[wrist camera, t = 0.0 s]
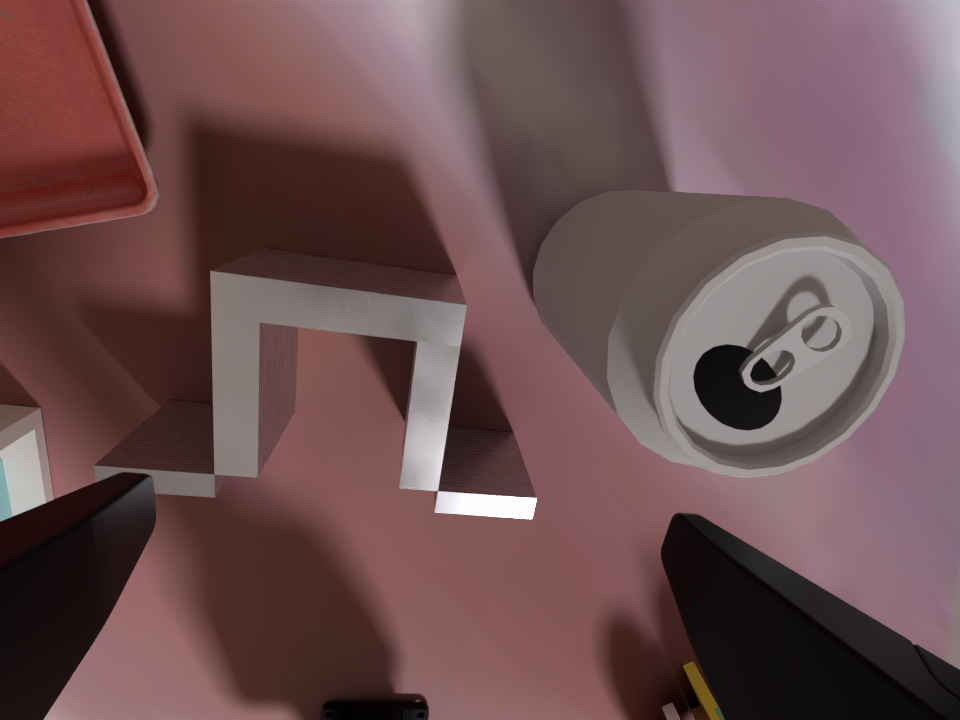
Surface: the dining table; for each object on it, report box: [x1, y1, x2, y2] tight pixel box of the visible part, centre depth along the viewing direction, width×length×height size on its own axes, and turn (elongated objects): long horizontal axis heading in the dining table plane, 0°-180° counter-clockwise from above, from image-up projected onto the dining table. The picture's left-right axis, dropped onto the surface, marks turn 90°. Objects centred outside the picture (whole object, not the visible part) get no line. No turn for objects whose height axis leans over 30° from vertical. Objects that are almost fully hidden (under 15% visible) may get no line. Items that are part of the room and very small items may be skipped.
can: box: [533, 190, 905, 478], centre depth 17 cm, size 8×8×12 cm
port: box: [94, 248, 537, 519], centre depth 20 cm, size 8×16×6 cm, turn 81°
